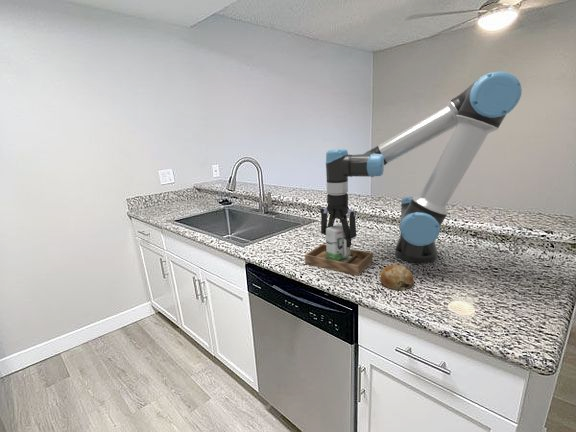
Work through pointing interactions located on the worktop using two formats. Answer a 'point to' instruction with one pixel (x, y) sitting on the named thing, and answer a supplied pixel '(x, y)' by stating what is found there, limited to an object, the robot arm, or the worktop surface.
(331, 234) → the ink box
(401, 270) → the bread roll
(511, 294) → the worktop surface
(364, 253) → the tray
